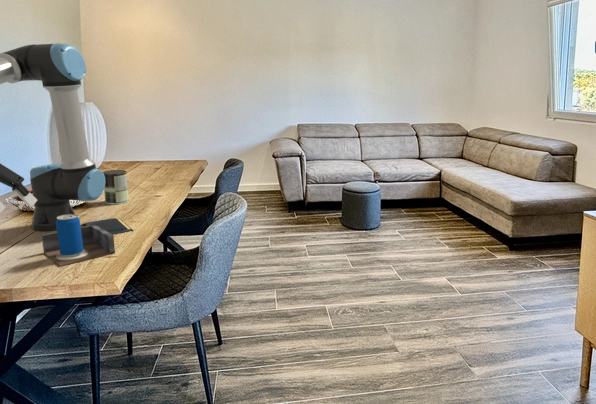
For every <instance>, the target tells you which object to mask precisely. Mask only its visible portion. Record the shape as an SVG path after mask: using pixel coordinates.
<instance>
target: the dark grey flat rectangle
mask: <svg viewBox="0 0 596 404" xmlns="http://www.w3.org/2000/svg"><path fill="white" fill-rule="evenodd" d="M93 224H94V225H96V226H98V227H100V228H102V229H103V230H105V231H107V232H109V233H111V234H112V235H113V236H114V235H119V234H120V235H121V234H124V233H125V232H126V233H130V231H131V232H134V229H133V228H132V227H130V226H129V225H128V224H127V223H125V222H124V221H123V220H122V219H121V218H116V217H114V218H105V219H100V220H93V221H92V220H91V221H88V222H84V223H82V224H81V223H80V227H83V226H88V225H93Z"/></svg>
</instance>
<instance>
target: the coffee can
mask: <svg viewBox="0 0 596 404" xmlns="http://www.w3.org/2000/svg"><path fill="white" fill-rule="evenodd" d="M102 173H103V174H104V176H105V188H104V191H103V193H104V200H105V205H113V206H115V205H122V204H123V205H124V204H128V203H129V201H130V198H129V187H128V186H129V185H128V179H127V176H128V175H127V170H123V169H111V170H105V171H102Z"/></svg>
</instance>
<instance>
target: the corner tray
mask: <svg viewBox="0 0 596 404" xmlns="http://www.w3.org/2000/svg"><path fill="white" fill-rule="evenodd" d="M80 227H81V226H80ZM81 234H82V242H83V252H81V254H80V255H77V256H74V257H64V256H63V255H61V254H60V249H59V242H58V235H57V231H54V232H49V233H43V234H41V236H40V237H41V243H42V249H43V250H42V251H43V254H45V255H46V256H47V257H48V258H49V259H50V260H51V261H52V262H54V263H55V264H56V265H58V266H59V268H61V267H65V266H69V265H73V264H77V263H82V262H85V261H89V260H93V259H97V258H101V257H105V256H108V255H113V254H116V247H115V239H114V235H112V234H111V233H109V232H107V231H105V230H103V229H102V228H100V227H98V226H96V225H94V224H93V225H88V226H83V227H81Z"/></svg>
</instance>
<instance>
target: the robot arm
mask: <svg viewBox="0 0 596 404" xmlns="http://www.w3.org/2000/svg"><path fill="white" fill-rule="evenodd" d="M86 72H87V65H86V61H85V59H84V56H83V55H82V54H81V52H80V51H79V50H78V49H77V48H76V47H75V46H73V45H72V44H68V43H59V42H57V43H43V44H42V43H40V44H27V45H23V46H20V47H17V48H13V49H10V50H8V51H4V52H1V53H0V85H2V84H5V83H10V84H16V83H19V82H25V81H26V82H27V81H28V82H29V81H41V83H42V87H43V88H44V89H45V90H46V91H48V93H49V97H50V101H51V107H52V112H53V118H54V121H55V127H56V132H57V136H58V137H57V138H58V141H59V147H60V151H61V156H62V162H61V163H60V162H59V163H51V164H45V165H41V166H36V167H33V168H30V171H29V175H30V178H29V181H30V186H31V192H30V190H29V189H28V188H26V187H25V186H24V184H23V182H24V181H25V178H24V177H23V176H21V175H20V174H18V172H17V173H16V172H15V171H13V170H12V169H10V168H8V167H7V166H5V165H3V164H2V163H0V184H3V185H4V186H7V187H10V188H11V191H12V192H13V193H14V194H16V195H17V197H19V198H20V200H22V201H23V202H24V203H25V204H26V205H27V206H28V207H29V208H31V207H33V206H34V211H33V214H32V220H31V227H32V230H34V231H39V232H44V231H45V232H46V231H47V232H48V231H57V228H56V220H57V217H58V216H61V215H67V214H76V213H75V211H74V209H73V207H72V205H71V202H70V201H77V202H78V201H81V202H88V201H89V202H91V201H96V200H97V199H99V198H100V197H101V196H102V194H103V193H104V188H105V176H104V174H103V173H102V172H103V171H102V170H101V169H98V168H97V166H96V162H95V160H93V159H91V158H90V153H89V147H88V142H87V137H86V131H85V130H86V129H85V126H84V121H83V115H82V108H81V103H80V97H79V93H78V90H79V89H80V87H81V86H82V82H81V80H83V79H84V77H85V76H86V74H85V73H86ZM6 208H7V206H6V205H5V204H4V203H3V202H2V201H0V214H1V213H2V212H3V211H4V210H5V209H6Z"/></svg>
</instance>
